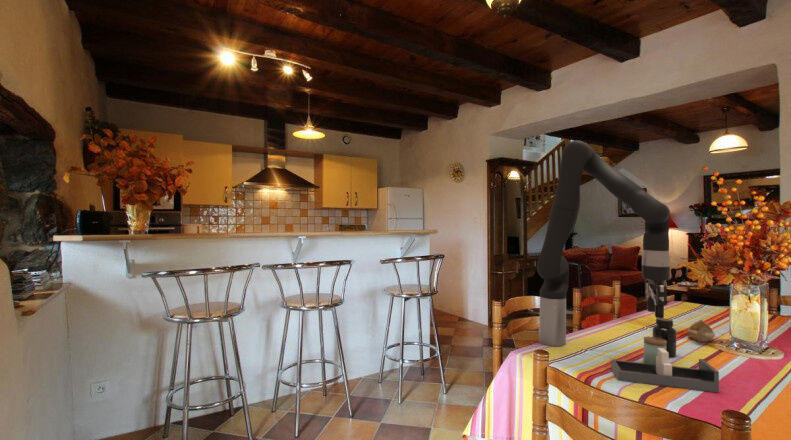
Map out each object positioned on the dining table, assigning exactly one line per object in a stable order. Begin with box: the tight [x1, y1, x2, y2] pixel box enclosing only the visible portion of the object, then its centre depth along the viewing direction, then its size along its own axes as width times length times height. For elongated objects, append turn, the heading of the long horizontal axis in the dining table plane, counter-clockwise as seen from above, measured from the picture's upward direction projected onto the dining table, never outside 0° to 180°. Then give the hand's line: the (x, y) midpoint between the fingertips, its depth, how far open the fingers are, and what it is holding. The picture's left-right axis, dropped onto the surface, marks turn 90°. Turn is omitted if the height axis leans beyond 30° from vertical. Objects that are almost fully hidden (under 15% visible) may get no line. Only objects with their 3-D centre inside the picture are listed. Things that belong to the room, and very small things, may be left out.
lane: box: [610, 358, 720, 393], centre depth 113 cm, size 24×10×6 cm, turn 71°
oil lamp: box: [686, 319, 716, 343], centre depth 151 cm, size 9×21×10 cm, turn 143°
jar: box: [643, 336, 667, 364], centre depth 125 cm, size 6×6×8 cm
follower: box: [656, 348, 673, 376], centre depth 113 cm, size 2×7×8 cm, turn 161°
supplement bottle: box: [652, 317, 677, 358], centre depth 134 cm, size 7×7×12 cm
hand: (655, 314), depth 124 cm, fingers open, 8 cm apart
